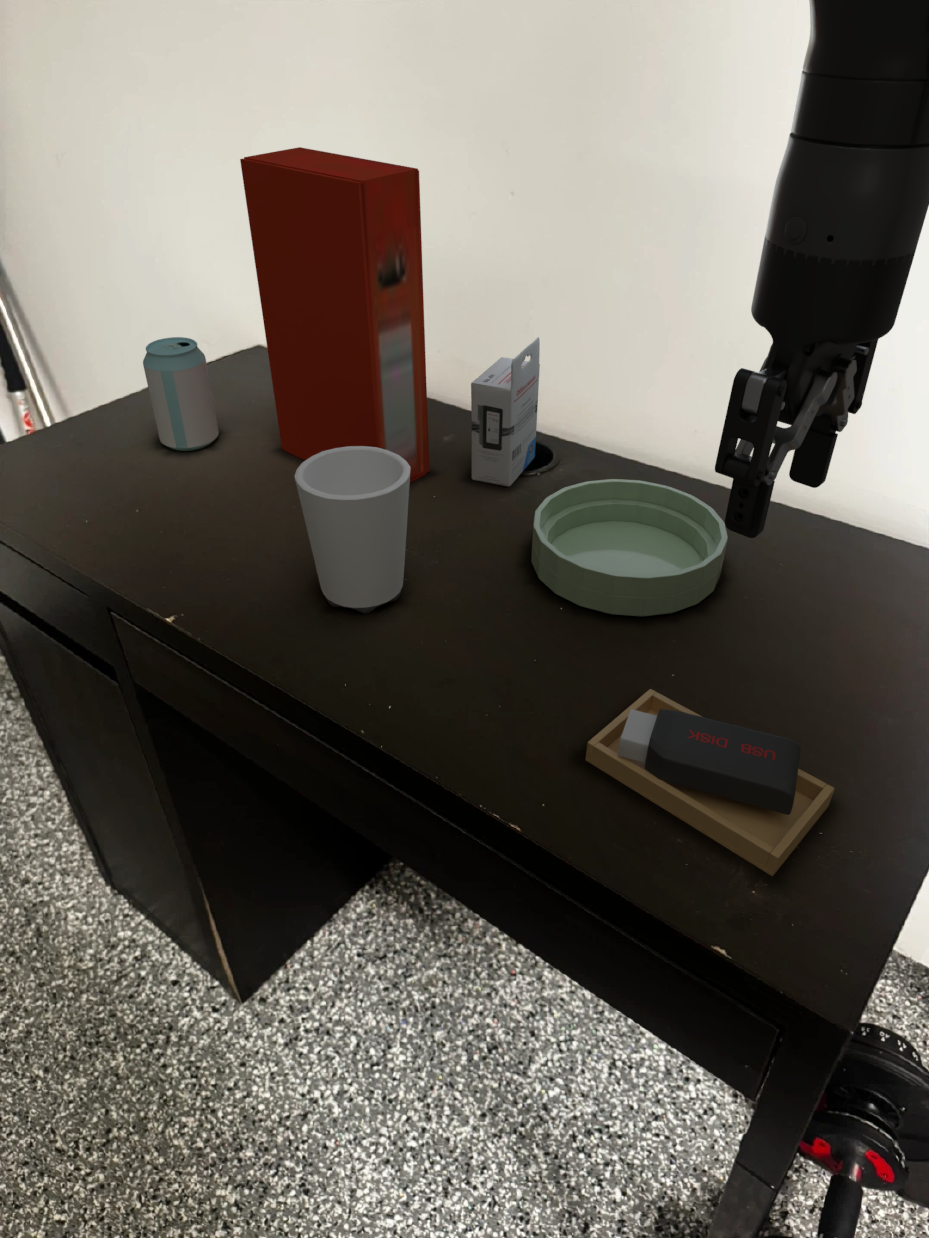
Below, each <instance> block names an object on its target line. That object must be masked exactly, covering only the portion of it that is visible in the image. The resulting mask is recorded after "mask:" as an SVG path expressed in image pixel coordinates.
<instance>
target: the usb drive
mask: <svg viewBox="0 0 929 1238" xmlns="http://www.w3.org/2000/svg"><path fill="white" fill-rule="evenodd" d="M701 716H702V715H700V716H697V715H693V714H689V713H685V712H681V711H675V710H664V709H659V712H658V715H657V716H656V715H652V714H648V713H644V712H640V711H637V710H633V709H631V710H630V713H629V716H628V719H627V722H626V724H625V727H624V730H623V733H622V736H621V739H620V746H619V752H618V756H622V757H625V758H629V759H633V760H636V761H640V762H644V763H645V770H647V771H648V772H650V773H651V774H652V775H654V776H655V777H657V778H658V779H660V780H663V781H666V782H670V783H674V784H677V785H681V786H685V787H688V788H692V789H695V790H699V791H703V792H706V793H710V794H714V795H717V796H721V797H724V798H728V799H732V800H735V801H739V802H743V803H746V804H750V805H753V806H757V807H761V808H764V809H768V810H772V811H775V812H779V813H783V814H787V815H790V813H791V811H792V808H793V803H794V798H795V790H796V783H797V775H798V769H799V767H800V766H799V765H800V759H801V746H800V743H798V742H797V741H796V740H794V739H790V738H787V737H783V736H780V735H776V734H772V733H768V732H764V731H761V730H760V731H759V730H757V729H752V728H749V727H744V726H740V725H736V724H733V723H728V722H724V721H721V720H716V719H713V718H707V717H704V716H702V717H701Z"/></svg>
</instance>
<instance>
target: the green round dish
mask: <svg viewBox="0 0 929 1238" xmlns="http://www.w3.org/2000/svg"><path fill="white" fill-rule="evenodd" d="M531 540H532V542H531V560H530V562H531V564H532V567H533V569H534V571H535V573H536V575H537V578H538V580H540V581H541V582H542V583H543V584H544V586H546V587H547V588H549V589H550V591H552V592H553V593H554V594H555V595H557V596H559V597H561V598H563V599H565V600H567V601H570V602H571V603H572V604H575V605H577V606H579V607H582V608H586V609H590V610H593V611H597V612H600V613H605V614H609V615H616V616H617V615H619V616H631V617H651V616H658V615H659V616H660V615H666V614H667V615H668V614H673V613H676V612H679V611H682V610H686V609H687V608H690V607H693V606H696V605H698V604H699V603H701V602H702V601H703V600H705V598H707V597H708V596H710V595H711V594H712V593H713V592H714V591H715V590H716V589H715V588H716V587H717V584H718V583H719V580H720V577H721V575H722V569H723V566H724V565H723V564H724V559H725V555H726V550H727V547H728V546H727V545H728V540H729V536H728V532H727V527H726V526H725V520H723V519H722V517H720V515H719V514H718V513H717V512H716V510H715V509H714V508H712V507H711V506H710V505H709V504H707V503H705V502H704V501H702V499H701V500H700V499H699V498H698V497H696V496H694V495H693V494H690V493H687V492H685V491H682V490H680V489H677V488H674V487H671V486H668V485H664V484H660V483H655V482H649V481H646V480H639V479H638V480H637V479H620V478H607V479H599V480H598V479H597V480H596V479H595V480H587V481H582V482H579V483H576V484H572V485H568V486H564V487H562V488H561V489H559V490H557V491H556V492H553V493H552V494H550V495H547V496H546V497H545V498H544V499H543V501H542V502H541V503H540V504H539V505H538V506H537V507H536V509H535V510H534V517H533V525H532V539H531Z"/></svg>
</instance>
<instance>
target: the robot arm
mask: <svg viewBox="0 0 929 1238" xmlns="http://www.w3.org/2000/svg"><path fill="white" fill-rule="evenodd" d="M808 2H809V25H810V27H809V29H810V30H809V40H808V43H807V48H806V52H805V56H804V59H803V64H802V70H801V73H800V74H801V75H800V79H799V84H798V89H797V95H796V100H795V105H794V111H793V114H792V115H793V116H792V121H791V126H790V133H789V135H788V139H787V144H786V147H785V150H784V153H783V157H782V160H781V163H780V166H779V168H778V172H777V175H776V179H775V181H774V182H775V183H774V187H773V192H772V196H771V201H770V208H769V212H768V219H767V223H766V230H765V234H764V239H763V244H762V249H761V254H760V260H759V266H758V271H757V275H756V281H755V286H754V290H753V296H752V302H751V306H750V307H751V308H750V309H751V310H750V311H751V316H752V318H753V320H754V321H755V322H756V324H757V325H759V326H760V327H762V328H764V329H765V330H766V331H767V332H768V334H769V335H770V337H771V339H772V343H771V345H770V347H769V351H768V353H767V355H766V358H765V359H764V361H763V363H762V364H761V367H760V369H759V371H755V370H751V369H747V368H743V367H742V368H739V369H738V370H737V371H736V373H735V375H734V377H733V381H732V386H731V390H730V395H729V400H728V403H727V404H728V405H727V409H726V413H725V419H724V423H723V427H722V432H721V436H720V442H719V446H718V451H717V454H716V455H717V456H716V460H715V464H714V471H715V473H717V474H719V475H722V476H725V477H728V478H731V479H732V482H731V486H730V487H731V488H730V493H729V497H728V502H727V507H726V513H725V518H724V523H725V526H726V529H728V530H729V531H730V532H733V533H736V534H738V535H741V536H743V537H746V538H749V539H755V538H757V537H758V536H759V535H761V534H762V533H763V531H764V529H765V525H766V521H767V516H768V514H769V513H768V512H769V508H770V504H771V500H772V495H773V490H774V486H775V483H776V478H777V477H778V474H779V471H780V470H781V467H782V466H783V464H784V461H785V459H786V457H787V455H788V453H789V452H791V451H793V456H792V459H791V463H790V467H789V472H788V476H789V478H790V480H792V481H793V482H795V483H798V484H801V485H803V486H807V487H810V488H813V489H816V488H819V487H820V486H822V485H823V484H824V483H825V482H826V480H827V476H828V473H829V469H830V465H831V461H832V458H833V454H834V451H835V446H836V444H837V439H838V436H839V435H838V433H841V432H843V431H844V429H845V428H846V426H847V425H848V422H849V414H852V415H856V414H857V413H858V411H859V410H860V409H861V408H862V405H863V399H864V397H865V396H864V395H865V391H866V389H867V384H868V380H869V376H870V373H871V369H872V365H873V362H874V357H875V353H876V349H877V345H878V342H879V339H882V338H883V337H884V336H886V335H888V333H890V332H891V331H892V329H893V328H894V326H895V324H896V320H897V316H898V313H899V309H900V306H901V303H902V299H903V295H904V292H905V289H906V285H907V282H908V279H909V275H910V271H911V268H912V265H913V261H914V257H915V254H916V251H917V247H918V244H919V241H920V237H921V234H922V230H923V227H924V223H925V220H926V216H927V213H928V209H929V0H809V1H808ZM778 422H779V423H783V424H786V425H788V427H781V426H778ZM836 432H838V433H836Z"/></svg>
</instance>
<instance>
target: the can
mask: <svg viewBox="0 0 929 1238" xmlns="http://www.w3.org/2000/svg"><path fill="white" fill-rule="evenodd" d="M145 351H146V354H145V355H144V358H143V360H142V366H143V370H144V375H145V379H146V384H147V388H148V392H149V397H150V402H151V406H152V410H153V415H154V420H155V424H156V429H157V433H158V438H159V441H160V443H161V444H162V445H163V446H166V447H168V448H170V449H172V450H175V451H181V452H183V451H184V452H189V451H195V450H196V451H197V450H200V449H203V448H206V447H208V446H209V445H211V444H212V443H213V442H214V441H215V440H216V439H217V438H218V437H219V434H220V433H219V426H218V421H217V415H216V409H215V404H214V403H215V402H214V397H213V392H212V386H211V382H210V381H211V380H210V374H209V370H208V365H207V359H206V355H205V354H204V352H203V351H202V350H201V349H200V348H199V347H198V342H197V341H196V340H194V339H192V338H190V337H182V336H174V337H164V338H159V339H156V340H154V341H151V342H150V343H148V344H147V345H145Z"/></svg>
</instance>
